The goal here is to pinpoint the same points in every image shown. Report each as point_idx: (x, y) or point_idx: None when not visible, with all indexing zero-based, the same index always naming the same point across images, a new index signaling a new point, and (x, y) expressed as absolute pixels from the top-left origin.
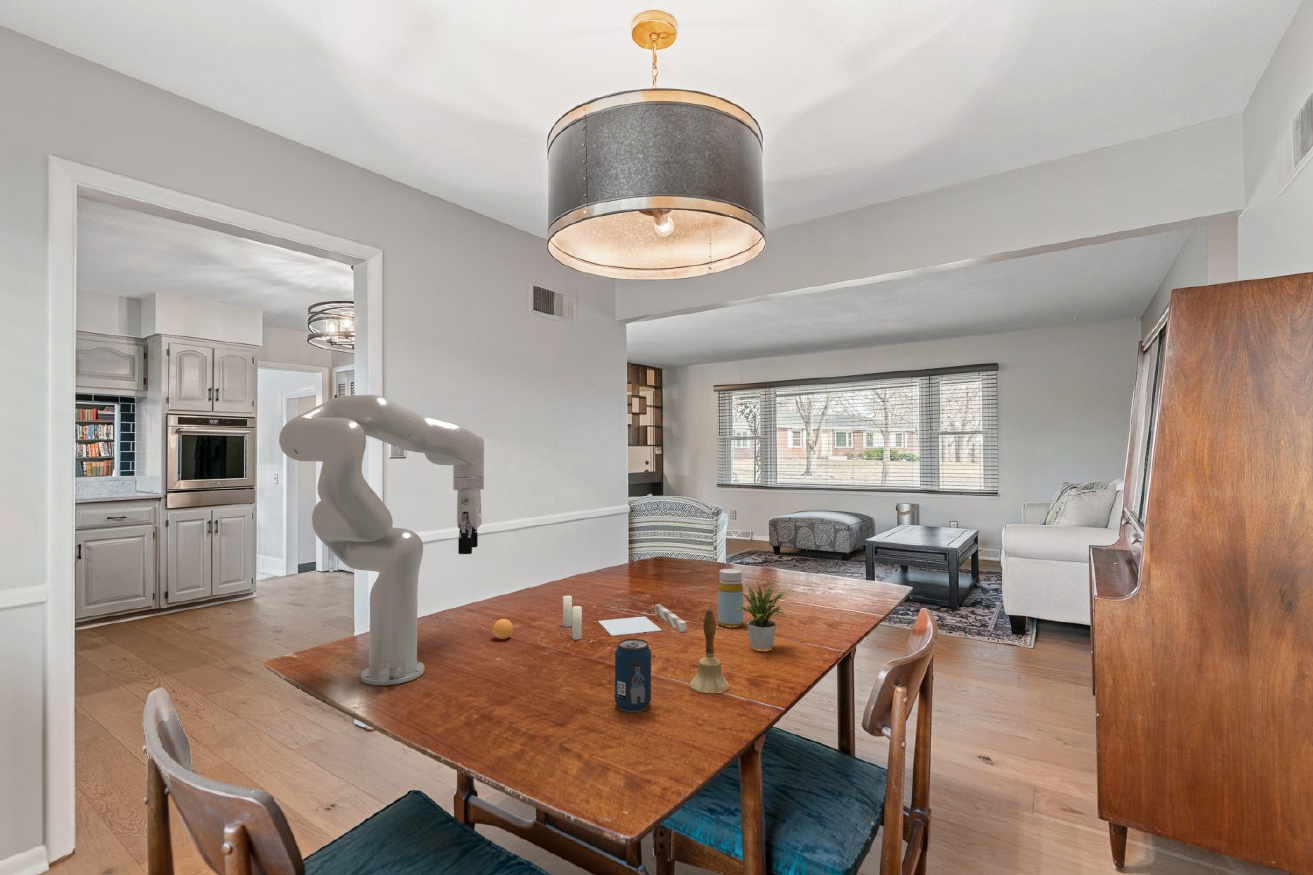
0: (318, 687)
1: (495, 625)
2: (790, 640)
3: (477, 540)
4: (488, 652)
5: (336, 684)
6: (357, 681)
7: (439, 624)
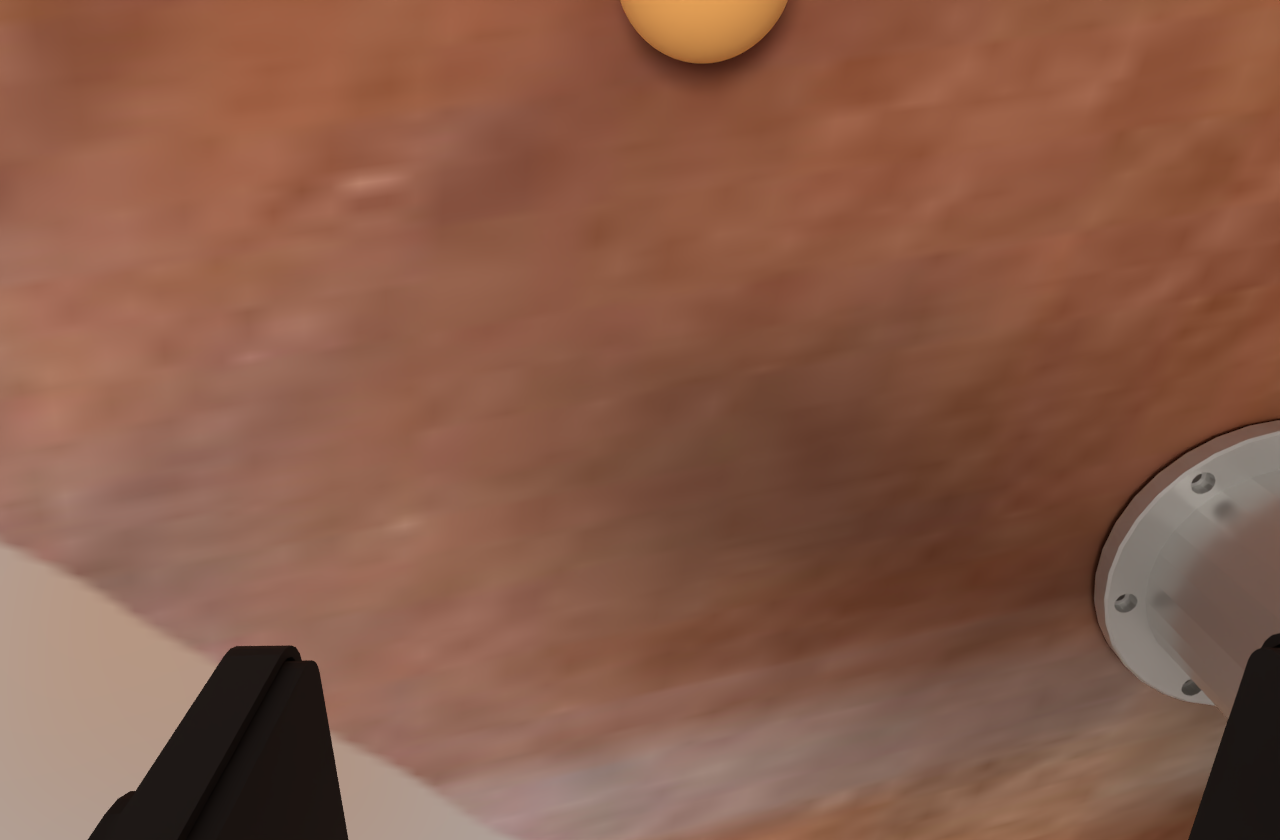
0: None
1: (751, 33)
2: None
3: (169, 769)
4: (1019, 59)
5: None
6: None
7: (287, 517)
